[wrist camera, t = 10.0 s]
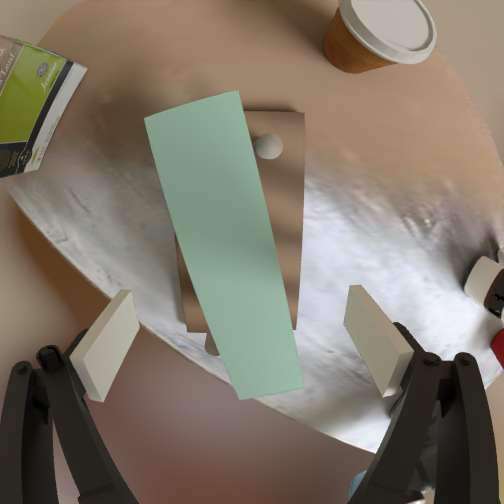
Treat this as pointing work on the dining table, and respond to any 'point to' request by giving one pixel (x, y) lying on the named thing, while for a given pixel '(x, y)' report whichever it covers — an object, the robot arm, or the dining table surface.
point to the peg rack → (278, 206)
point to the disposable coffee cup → (379, 34)
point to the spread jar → (487, 285)
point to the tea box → (31, 101)
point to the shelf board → (227, 239)
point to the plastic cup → (499, 347)
